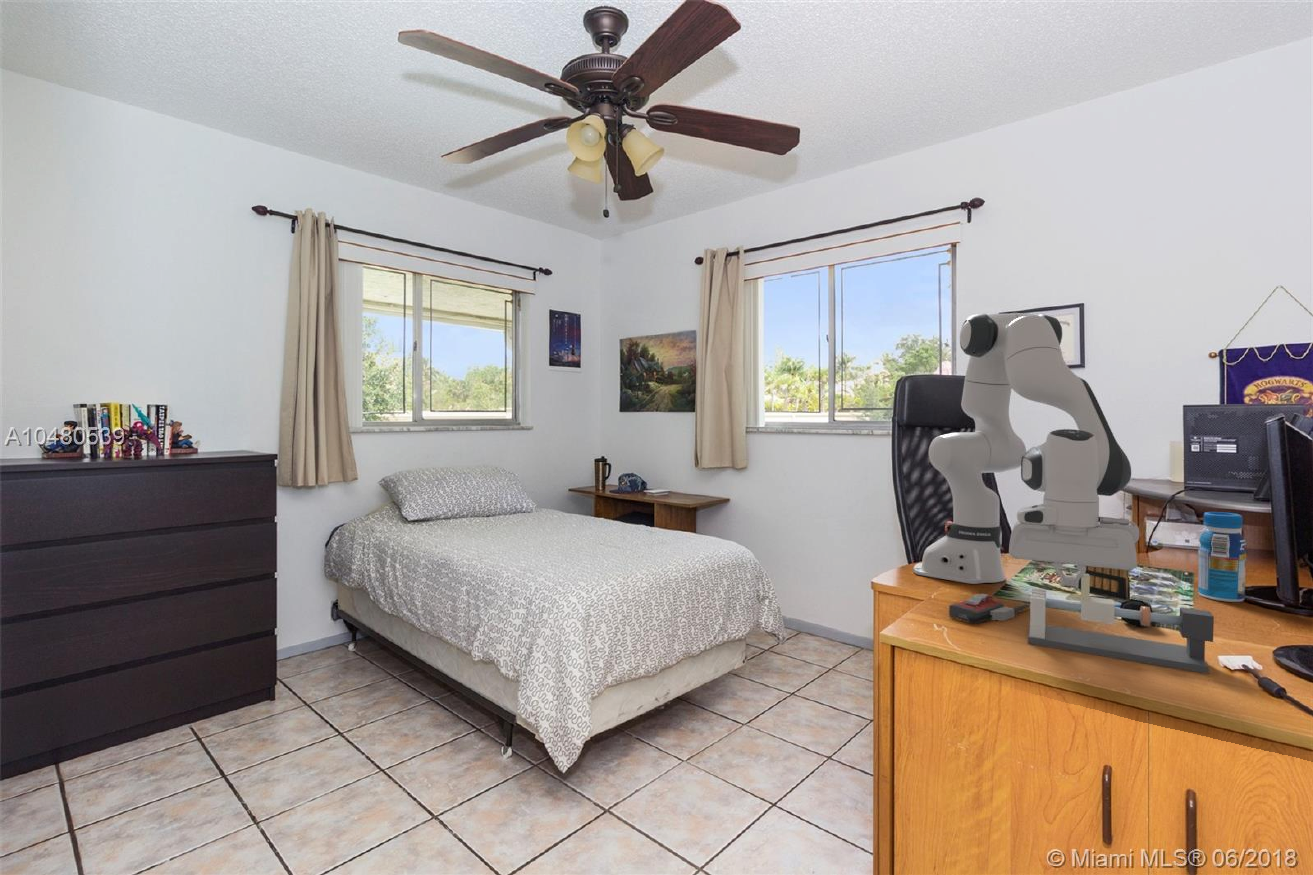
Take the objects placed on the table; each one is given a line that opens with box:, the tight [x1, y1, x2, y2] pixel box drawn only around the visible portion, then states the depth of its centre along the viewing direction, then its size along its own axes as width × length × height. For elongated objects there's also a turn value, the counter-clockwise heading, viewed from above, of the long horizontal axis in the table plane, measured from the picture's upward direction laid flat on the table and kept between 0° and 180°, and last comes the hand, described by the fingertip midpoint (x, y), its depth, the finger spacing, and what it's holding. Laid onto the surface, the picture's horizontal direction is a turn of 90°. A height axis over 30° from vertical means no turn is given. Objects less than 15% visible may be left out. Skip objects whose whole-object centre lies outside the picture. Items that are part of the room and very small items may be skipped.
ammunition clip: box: [1077, 566, 1131, 601], centre depth 150 cm, size 11×2×12 cm, turn 26°
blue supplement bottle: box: [1197, 511, 1247, 603], centre depth 145 cm, size 8×8×20 cm
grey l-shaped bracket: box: [1080, 573, 1116, 625], centre depth 115 cm, size 5×4×8 cm
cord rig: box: [1027, 587, 1215, 675], centre depth 114 cm, size 27×10×9 cm, turn 57°
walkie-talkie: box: [948, 592, 1030, 624], centre depth 135 cm, size 9×4×20 cm
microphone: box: [1119, 598, 1154, 628], centre depth 132 cm, size 6×6×20 cm
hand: (1069, 586), depth 118 cm, fingers closed
